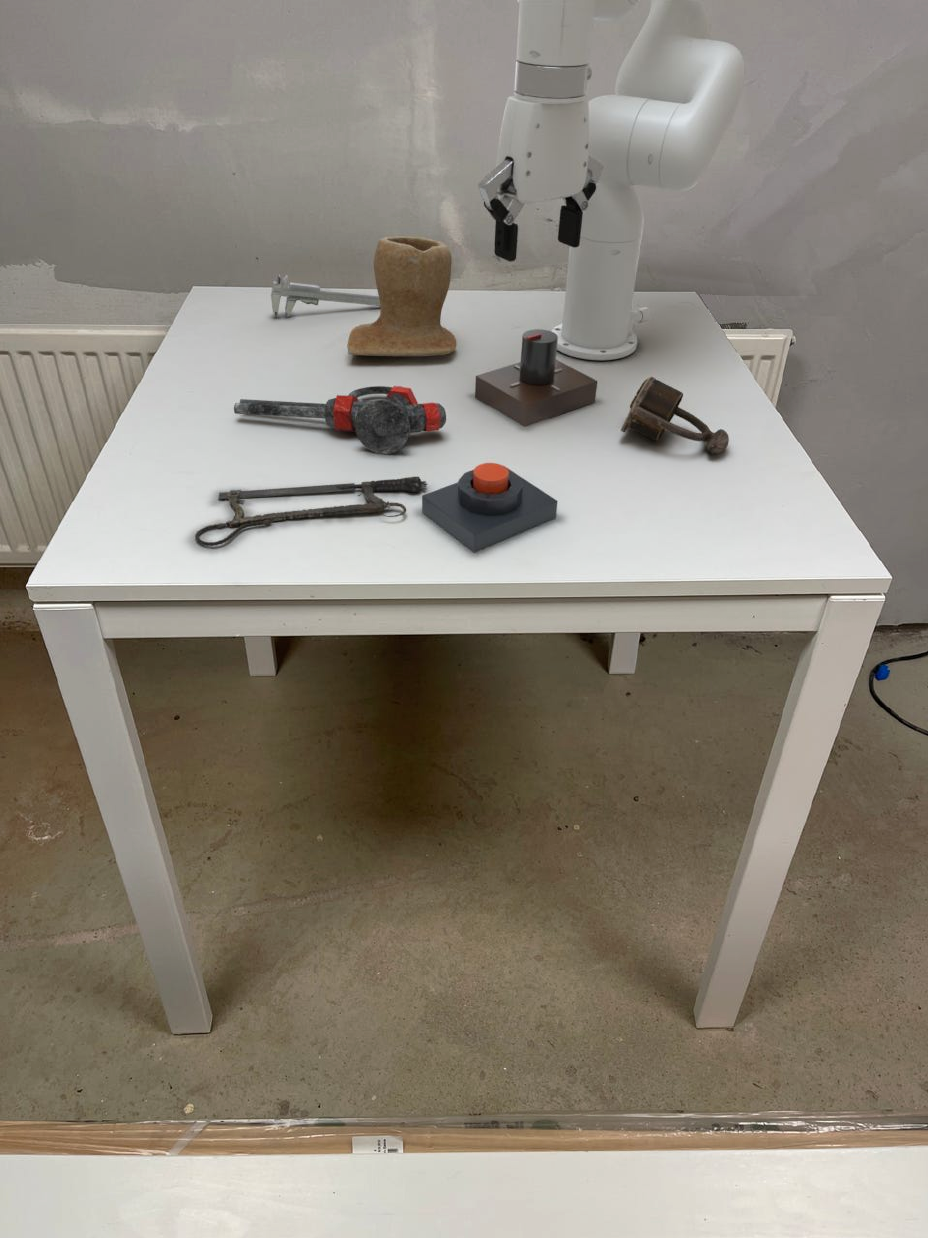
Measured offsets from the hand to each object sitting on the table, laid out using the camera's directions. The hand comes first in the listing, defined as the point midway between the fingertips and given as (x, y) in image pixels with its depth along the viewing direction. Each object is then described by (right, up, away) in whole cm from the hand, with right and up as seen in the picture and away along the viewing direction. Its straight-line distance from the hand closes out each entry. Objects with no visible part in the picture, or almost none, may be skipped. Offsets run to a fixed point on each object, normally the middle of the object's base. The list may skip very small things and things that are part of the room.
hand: (537, 250), depth 105 cm
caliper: (-28, +4, +34) cm, 44 cm away
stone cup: (-17, -5, +23) cm, 29 cm away
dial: (+1, -12, +10) cm, 16 cm away
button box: (-6, -32, -10) cm, 34 cm away
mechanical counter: (+16, -22, +4) cm, 27 cm away
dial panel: (+1, -14, +12) cm, 19 cm away
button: (-6, -29, -12) cm, 32 cm away
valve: (-23, -18, +6) cm, 30 cm away
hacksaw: (-24, -32, -10) cm, 41 cm away
